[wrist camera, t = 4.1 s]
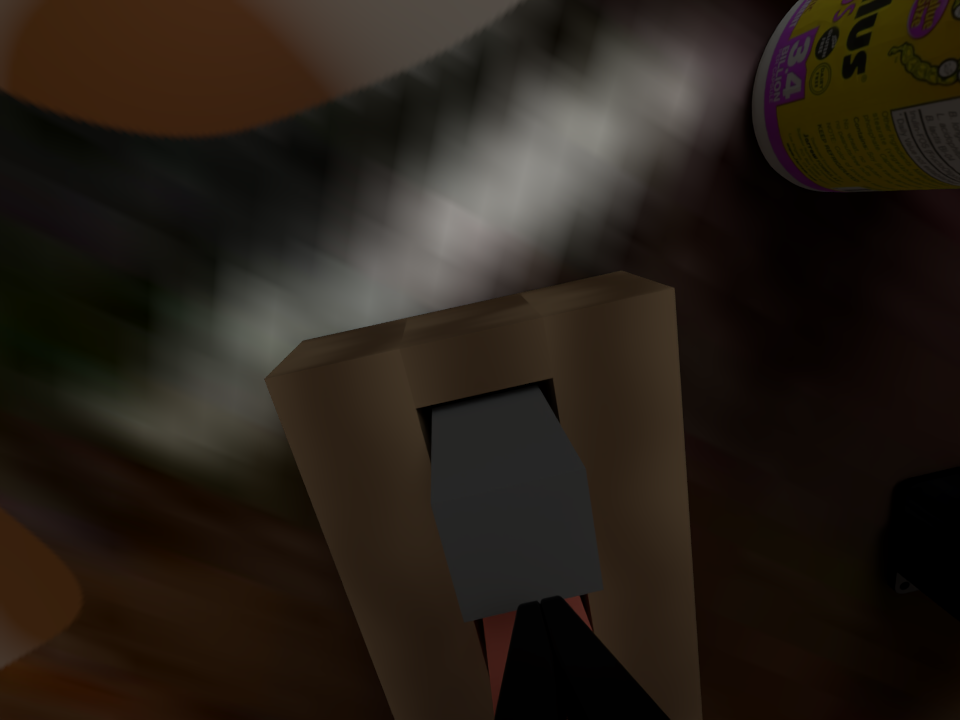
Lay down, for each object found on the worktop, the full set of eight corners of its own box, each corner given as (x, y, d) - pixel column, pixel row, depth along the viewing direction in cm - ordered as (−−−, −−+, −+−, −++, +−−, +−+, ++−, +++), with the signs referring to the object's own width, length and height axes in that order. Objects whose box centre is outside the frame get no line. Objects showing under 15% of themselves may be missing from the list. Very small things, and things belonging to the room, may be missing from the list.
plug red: (569, 569, 17) (620, 707, 12) (581, 636, 18) (632, 787, 13) (479, 590, 17) (496, 737, 12) (496, 656, 18) (518, 815, 13)
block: (621, 270, 17) (674, 288, 13) (664, 698, 25) (706, 788, 21) (302, 340, 17) (264, 379, 13) (444, 751, 24) (445, 852, 20)
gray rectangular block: (537, 384, 15) (585, 468, 10) (553, 475, 16) (603, 589, 11) (432, 407, 15) (430, 504, 10) (455, 497, 16) (464, 622, 11)
